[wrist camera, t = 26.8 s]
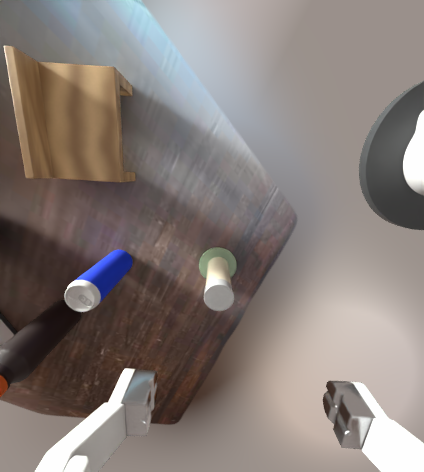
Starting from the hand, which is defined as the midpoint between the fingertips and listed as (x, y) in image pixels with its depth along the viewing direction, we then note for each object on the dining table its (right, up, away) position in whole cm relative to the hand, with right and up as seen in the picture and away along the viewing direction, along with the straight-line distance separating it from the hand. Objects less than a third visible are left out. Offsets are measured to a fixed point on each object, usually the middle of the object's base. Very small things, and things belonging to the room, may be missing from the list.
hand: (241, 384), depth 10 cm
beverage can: (-21, +2, +36) cm, 42 cm away
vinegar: (-35, -10, +40) cm, 54 cm away
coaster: (0, +1, +36) cm, 36 cm away
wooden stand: (-22, +26, +29) cm, 45 cm away
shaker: (0, +1, +36) cm, 36 cm away
